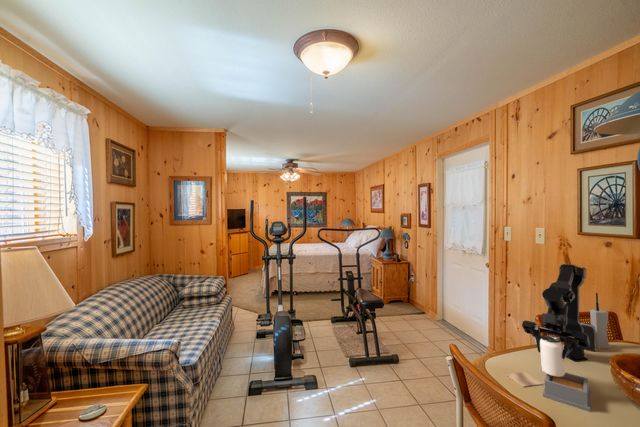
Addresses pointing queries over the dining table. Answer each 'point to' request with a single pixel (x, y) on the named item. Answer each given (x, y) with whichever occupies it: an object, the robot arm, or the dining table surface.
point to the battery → (590, 335)
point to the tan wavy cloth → (524, 379)
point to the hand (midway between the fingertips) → (550, 355)
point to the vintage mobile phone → (600, 326)
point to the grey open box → (569, 391)
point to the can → (552, 356)
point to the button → (567, 383)
